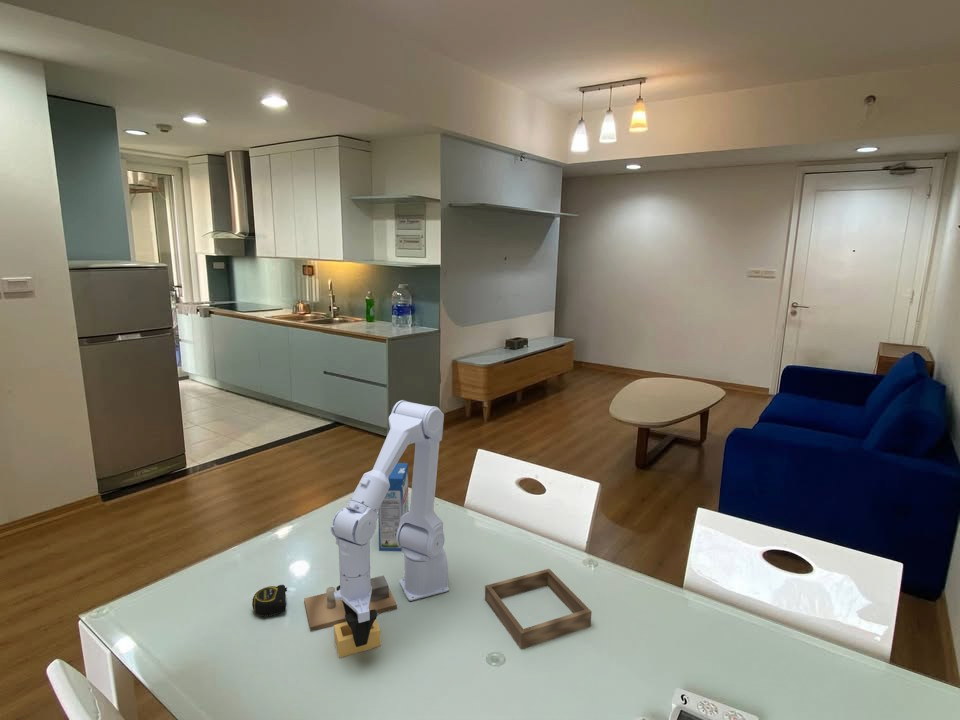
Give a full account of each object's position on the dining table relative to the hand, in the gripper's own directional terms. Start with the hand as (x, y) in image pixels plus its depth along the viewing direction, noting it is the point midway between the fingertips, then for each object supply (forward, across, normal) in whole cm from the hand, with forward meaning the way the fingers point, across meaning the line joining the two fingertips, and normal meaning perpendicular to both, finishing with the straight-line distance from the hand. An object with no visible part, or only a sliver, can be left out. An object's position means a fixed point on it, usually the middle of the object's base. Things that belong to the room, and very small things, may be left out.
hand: (356, 631), depth 106 cm
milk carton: (+3, -34, +17) cm, 38 cm away
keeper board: (+3, -12, +1) cm, 12 cm away
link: (+3, 0, 0) cm, 3 cm away
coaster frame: (+2, +6, +37) cm, 38 cm away
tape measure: (+3, -18, -14) cm, 23 cm away
